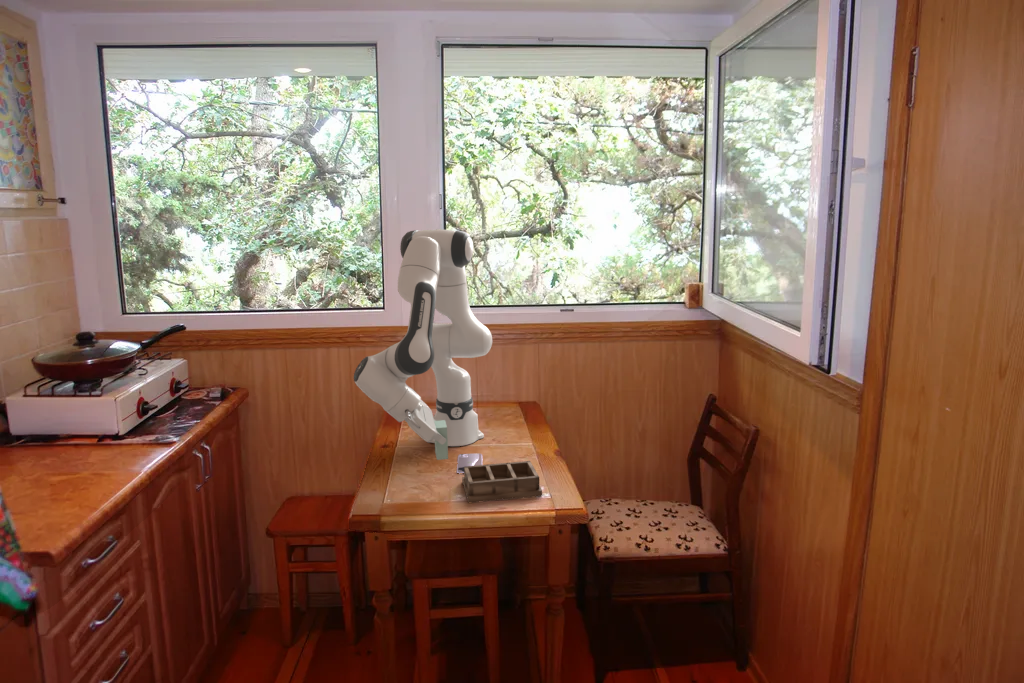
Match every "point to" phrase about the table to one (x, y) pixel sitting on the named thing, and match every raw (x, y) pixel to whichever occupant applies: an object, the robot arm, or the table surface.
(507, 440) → the table surface
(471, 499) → the walnut rack
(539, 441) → the table surface
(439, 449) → the sage block
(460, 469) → the mobile phone
